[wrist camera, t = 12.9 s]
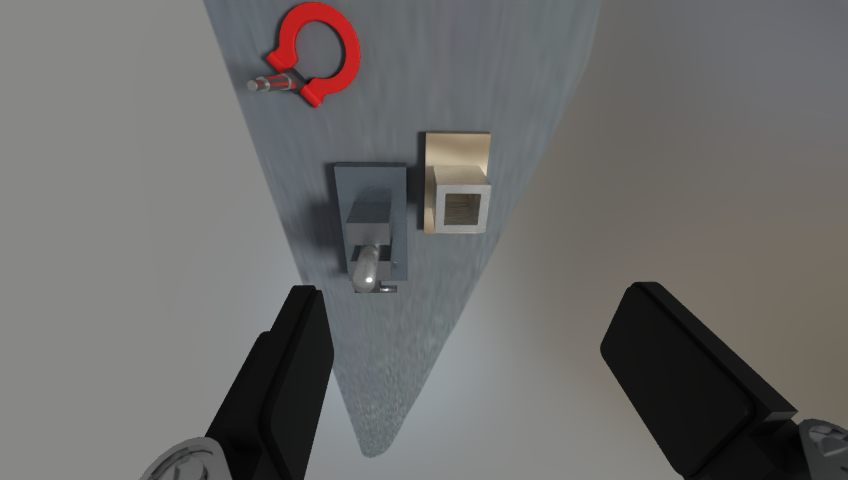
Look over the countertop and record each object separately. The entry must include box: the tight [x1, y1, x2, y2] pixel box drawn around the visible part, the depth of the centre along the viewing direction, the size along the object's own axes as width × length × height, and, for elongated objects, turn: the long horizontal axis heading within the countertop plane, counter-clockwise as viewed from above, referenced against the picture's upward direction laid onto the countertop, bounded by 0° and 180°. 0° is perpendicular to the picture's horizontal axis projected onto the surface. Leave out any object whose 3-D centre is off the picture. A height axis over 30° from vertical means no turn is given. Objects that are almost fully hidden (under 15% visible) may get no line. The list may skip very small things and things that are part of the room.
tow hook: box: [247, 2, 360, 108], centre depth 29 cm, size 8×13×9 cm
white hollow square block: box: [432, 165, 491, 233], centre depth 38 cm, size 6×6×7 cm
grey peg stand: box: [334, 162, 407, 293], centre depth 39 cm, size 18×9×14 cm, turn 179°
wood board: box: [424, 131, 491, 233], centre depth 42 cm, size 14×8×1 cm, turn 179°
